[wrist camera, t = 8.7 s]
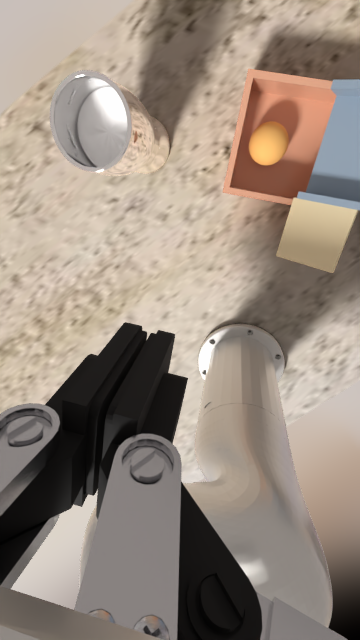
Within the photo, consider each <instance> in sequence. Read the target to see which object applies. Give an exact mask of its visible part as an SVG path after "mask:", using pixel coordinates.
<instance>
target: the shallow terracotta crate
mask: <svg viewBox="0 0 360 640" xmlns="http://www.w3.org/2000/svg"><path fill="white" fill-rule="evenodd" d="M332 82H333V81H328V80H321V79H314V78H308V77H301V76H294V75H288V74H281V73H274V72H268V71H261V70H254V69H248V73H247V78H246V83H245V88H244V92H243V97H242V102H241V107H240V111H239V116H238V121H237V126H236V131H235V135H234V140H233V145H232V150H231V155H230V159H229V164H228V169H227V174H226V179H225V183H224V188H223V193H228V194H234V195H239V196H244V197H250V198H255V199H260V200H266V201H271V202H276V203H282V204H287V205H292V201H293V198H294V197H295V198H297V195H298V192H299V191H300V192H305V193H306V190H307V187H308V183H309V180H310V177H311V174H312V171H313V168H314V165H315V162H316V158H317V155H318V152H319V149H320V146H321V143H322V140H323V136H324V133H325V130H326V127H327V124H328V121H329V118H330V115H331V111H332V108H333V105H334V102H335V99H336V95H335V94H334V92H333V91H332V90H331V86H332ZM270 121H273V122H277V123H280V124H281V125H282V126H284V128H285V129H286V131H287V133H288V138H289V143H288V148H287V151H286V153H285V154H284V156H283V157H282V158H281V159H280V160H279V161H278V162H276V163H274V164H272V165H261V164H258V163H257V162H255V161H254V160H253V158H252V157H251V155H250V151H249V142H250V138H251V136H252V134H253V132H254V131H255V129H256V128H257V127H258V126H260V125H261V124H263V123H265V122H270Z"/></svg>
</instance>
